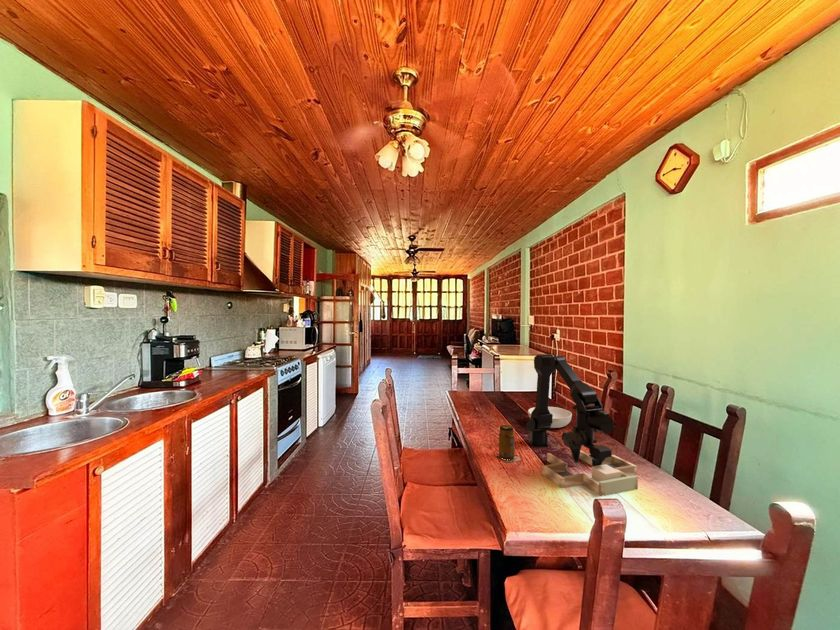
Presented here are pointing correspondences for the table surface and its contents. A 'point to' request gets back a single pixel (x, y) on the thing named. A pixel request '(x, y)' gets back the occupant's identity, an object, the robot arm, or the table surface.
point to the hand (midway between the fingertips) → (585, 467)
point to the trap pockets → (567, 479)
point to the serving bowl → (557, 416)
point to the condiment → (507, 444)
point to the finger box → (604, 486)
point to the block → (604, 473)
